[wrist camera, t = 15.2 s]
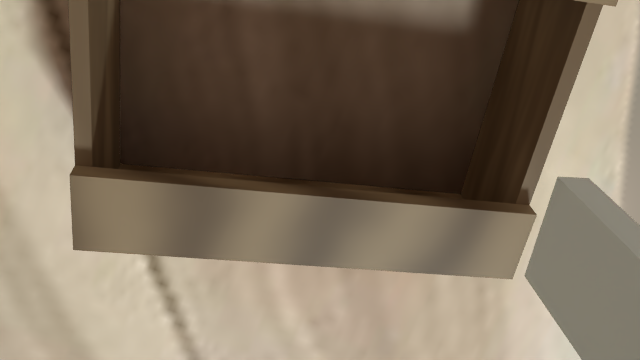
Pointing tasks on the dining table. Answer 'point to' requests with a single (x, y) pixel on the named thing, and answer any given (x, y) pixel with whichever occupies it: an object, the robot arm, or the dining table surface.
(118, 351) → the dining table surface
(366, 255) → the walnut box
